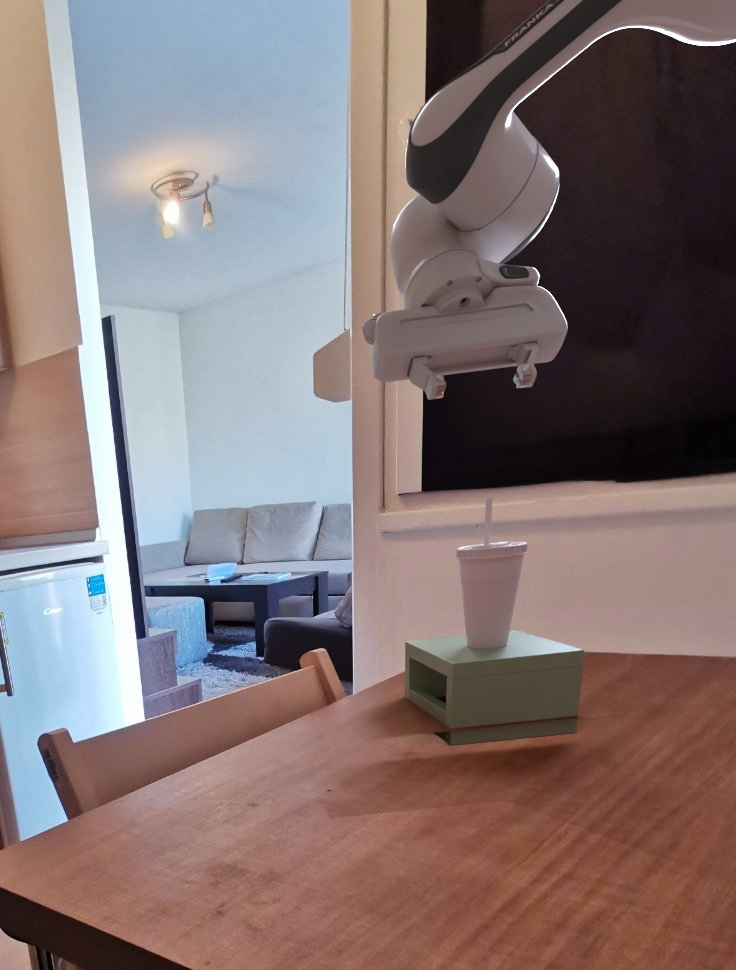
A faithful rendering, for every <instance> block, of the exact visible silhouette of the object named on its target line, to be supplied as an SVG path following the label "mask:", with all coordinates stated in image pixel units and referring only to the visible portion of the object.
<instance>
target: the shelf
mask: <svg viewBox="0 0 736 970" xmlns="http://www.w3.org/2000/svg"><path fill="white" fill-rule="evenodd" d="M404 643H405V644H404V648H405V649H404V698H405V699H406V700H408V701H410V702H411V703H413V704H414V705H416V706H417V707H419V708H420V709H422V710H423V711H424V712H426V713H427V714H428V715H431V716H432V717H433V718H435V719H436V720H438V721H439V722H440V723H442V724H443V725H445V726H447V727H448V728H449V729H453V730H445V731H435V732H433V734H434V735H436V736H437V737H438V738H440V739H441V740H443V741H444V742H445V743H447V745H449V746H461V745H470V744H479V743H481V744H482V743H489V742H499V741H500V742H501V741H508V740H519V739H531V738H540V737H549V736H558V735H559V736H560V735H569V734H577V733H578V723H579V717H578V716H579V713H580V702H581V701H580V700H581V689H582V679H583V668H584V657H585V649H584V648H583V649H582V648H579V647H575V646H572V645H568V644H565V643H562V642H559V641H555V640H552V639H548V638H545V637H542V636H538V635H535V634H531V633H528V632H525V631H521V630H518V629H510V631H509V636H508V642H507V645H506V646H503V647H498V648H486V649H479V648H470V647H467V639H466V634H462V635H454V636H452V635H451V636H444V637H434V638H424V639H415V640H408V641H407V640H406V641H405V642H404ZM439 697H440V698H441V697H446V698H445V699H446V700H445V702H444V701H442V700H441V699H439ZM568 717H571V718H568ZM559 718H561V719H559ZM562 718H563V719H562ZM549 719H551V720H549ZM552 719H554V720H552ZM542 720H543V721H542ZM529 721H533V722H529ZM519 722H522V723H519ZM523 722H524V723H523ZM509 723H512V724H509ZM513 723H514V724H513ZM501 724H504V725H501ZM491 725H494V726H491ZM480 726H485V727H480ZM470 727H475V728H470ZM460 728H464V729H460ZM454 729H455V730H454Z"/></svg>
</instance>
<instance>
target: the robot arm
mask: <svg viewBox="0 0 736 970" xmlns="http://www.w3.org/2000/svg"><path fill="white" fill-rule="evenodd" d="M628 28H629V29H630V28H640V29H641V28H642V29H649V30H652V31H655V32H659V33H661V34H664V35H667V36H669V37H672V38H674V39H676V40H678V41H680V42H683V43H687V44H691V45H696V46H705V47H707V46H713V47H714V46H722V45H727V44H731V43H735V42H736V0H547V1H546V2H544V3H543V4H542V5H541V6H540V7H539V8H537V10H536V11H534V12H533V13H532V14H531V15H530V16H529V17H528V18H527V19H525V20H524V21H523V22H522V23H521V24H519V26H518V27H516V28H515V29H514V30H513V31H512V32H511V33H509V34H508V35H507V36H506V37H505V38H504V39H503V40H501V42H499V43H498V44H497V45H496V46H495V47H493V48H492V49H491V50H490V51H489V52H487V54H485V55H483V57H481V58H480V59H479V60H478V61H476V62H475V63H473V64H472V65H470V66H469V67H467V68H466V69H464V70H463V71H461V72H459V73H458V74H457V75H455V76H454V77H453V78H451V79H450V80H448V81H447V82H446V83H444V84H443V85H442V86H441V87H440V88H439V89H437V90H436V91H435V92H434V93H433V94H432V95H431V96H430V97H429V98H428V99H427V100H426V101H425V103H424V104H423V105H422V107H421V108H420V109H419V111H418V112H417V114H416V116H415V118H414V119H413V121H412V123H411V126H410V128H409V132H408V136H407V142H406V149H405V161H404V162H405V164H404V165H405V167H404V168H405V178H406V182H407V185H408V186H409V187H410V188H411V189H412V190H414V191H415V192H416V193H418V195H417V196H415V197H414V198H412V199H410V201H409V202H408V203H406V205H405V206H404V207H403V208H402V209H401V210H400V212H399V213H398V215H397V216H396V219H395V221H394V224H393V227H392V230H391V234H390V239H389V259H390V265H391V270H392V274H393V278H394V282H395V284H396V287H397V290H398V292H399V295H400V296H401V297H402V299H403V300H404V301H403V305H404V309H398V310H391V311H388V312H379V313H375V314H373V315H372V317H371V318H368V319H367V320H366V321H364V322H363V324H362V326H361V331H362V335H363V338H364V340H365V342H366V343H368V344H369V345H370V365H371V370H372V375H373V377H374V379H376V380H377V381H379V382H381V383H393V382H400V381H408V380H409V381H410V383H411V384H412V385H414V386H415V387H417V388H419V389H420V390H422V391H424V392H425V396H426V398H427V400H429V401H430V400H437V399H443V398H444V395H445V394H444V392H446V388H447V381H446V380H445V377H444V376H447V375H449V376H450V375H454V374H456V375H457V374H463V373H472V372H479V371H487V370H493V369H494V370H495V369H502V368H512V367H516V373H514V376H513V378H512V381H513V383H514V384H515V387H516V389H524V388H531V387H533V385H534V383H535V381H536V379H537V375H538V372H537V369H536V367H535V364H543V363H549V362H552V361H553V360H554V359H555V358H556V356H557V354H558V353H559V352H560V350H561V348H562V346H563V343H564V341H565V339H566V336H567V333H568V329H569V327H568V322H567V319H566V317H565V315H564V313H563V311H562V309H561V307H560V306H559V304H558V302H557V301H556V299H555V297H554V296H553V295H552V294H551V292H550V291H548V290H547V289H545V288H544V287H542V286H538V284H539V280H540V273H539V271H538V270H537V269H536V268H535V267H533V266H523V265H512V264H505V263H508V262H509V261H510V260H512V259H513V258H514V257H516V256H517V255H518V254H520V253H521V251H523V250H524V249H525V248H526V247H527V246H528V245H529V244H530V243H531V242H532V241H533V240H534V239H535V238H536V236H537V235H538V234H540V232H541V230H542V228H544V225H545V223H546V222H547V220H548V219H549V217H550V215H551V213H552V211H553V208H554V205H555V204H556V200H557V197H558V194H559V189H560V183H561V173H560V172H561V171H560V169H559V167H558V165H557V164H556V163H555V162H554V160H553V159H552V157H551V156H550V155H549V154H548V152H547V151H546V149H545V148H544V147H543V146H542V145H541V143H540V142H539V141H538V139H537V138H536V136H534V135H532V134H531V132H530V131H529V130H528V129H527V127H526V125H524V123H523V122H522V121H521V120H520V118H519V117H518V115H516V113H515V112H514V110H515V108H516V107H517V106H518V105H519V104H520V103H522V102H523V101H524V100H525V99H526V98H528V97H529V96H530V95H531V94H532V93H534V92H535V91H537V90H538V88H540V87H541V86H542V85H543V84H544V83H546V82H547V81H548V80H549V79H550V78H552V77H553V76H554V75H555V74H557V72H559V71H560V70H562V69H563V68H564V67H565V66H566V65H568V64H569V63H570V62H571V61H572V60H574V59H575V58H576V57H577V56H578V55H580V54H581V53H582V52H584V51H585V50H586V49H588V47H590V46H591V45H592V44H593V43H594V42H596V41H597V40H599V39H601V38H602V37H604V36H606V35H608V34H610V33H613V32H615V31H619V30H622V29H623V30H624V29H628Z"/></svg>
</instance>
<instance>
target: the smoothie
mask: <svg viewBox="0 0 736 970" xmlns="http://www.w3.org/2000/svg"><path fill="white" fill-rule="evenodd" d="M492 513H493V497H490V498H489V497H487V498H485V514H484V535H483V536H484V539H483V543H479V544H471V545H465V546H459V547H457V548H456V557H455V560H458V562H459V573H460V575H459V576H460V581H461V582H460V584H461V594H462V604H463V616H464V627H465V635H466V639H467V647H470V648H479V649H486V648H498V647H503V646H506V645H507V642H508V636H509V631H510V630H511V627H512V626H511V625H512V621H513V615H514V610H515V603H516V599H517V594H518V587H519V582H520V578H521V574H522V568H523V562H524V556H525V555H527V554H528V553H529V551H528V547H529V546H528V545H529V544H528V542H526V541H510V540H509V541H508V540H507V541H506V540H505V541H498V542H491V541H492V540H491V538H492V518H493V517H492V515H493V514H492Z"/></svg>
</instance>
